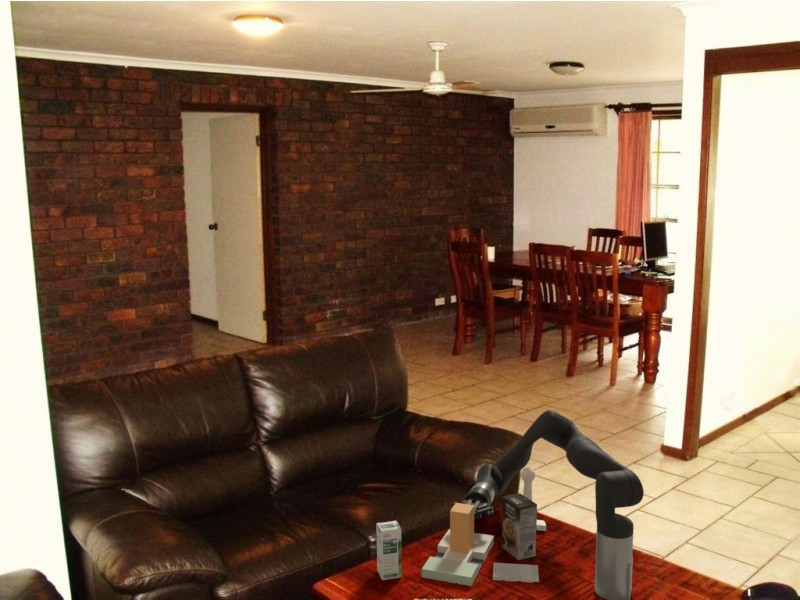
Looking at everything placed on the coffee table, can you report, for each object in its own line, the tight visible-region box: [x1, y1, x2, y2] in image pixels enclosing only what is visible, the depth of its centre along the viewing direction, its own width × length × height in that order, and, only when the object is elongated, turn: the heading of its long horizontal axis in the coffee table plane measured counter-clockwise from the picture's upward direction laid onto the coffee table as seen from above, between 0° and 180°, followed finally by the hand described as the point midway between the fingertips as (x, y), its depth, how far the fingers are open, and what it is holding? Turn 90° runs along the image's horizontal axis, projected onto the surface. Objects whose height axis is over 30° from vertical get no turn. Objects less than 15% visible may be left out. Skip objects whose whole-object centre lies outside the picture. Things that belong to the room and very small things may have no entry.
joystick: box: [520, 467, 547, 532], centre depth 239 cm, size 11×8×20 cm
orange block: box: [449, 502, 475, 553], centre depth 224 cm, size 6×6×12 cm
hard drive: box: [492, 562, 540, 584], centre depth 215 cm, size 2×8×12 cm
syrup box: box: [375, 520, 403, 581], centre depth 214 cm, size 6×6×14 cm
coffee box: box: [501, 492, 538, 561], centre depth 226 cm, size 9×6×16 cm
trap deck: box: [421, 528, 495, 587], centre depth 223 cm, size 14×26×2 cm, turn 160°
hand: (465, 520), depth 227 cm, fingers closed
